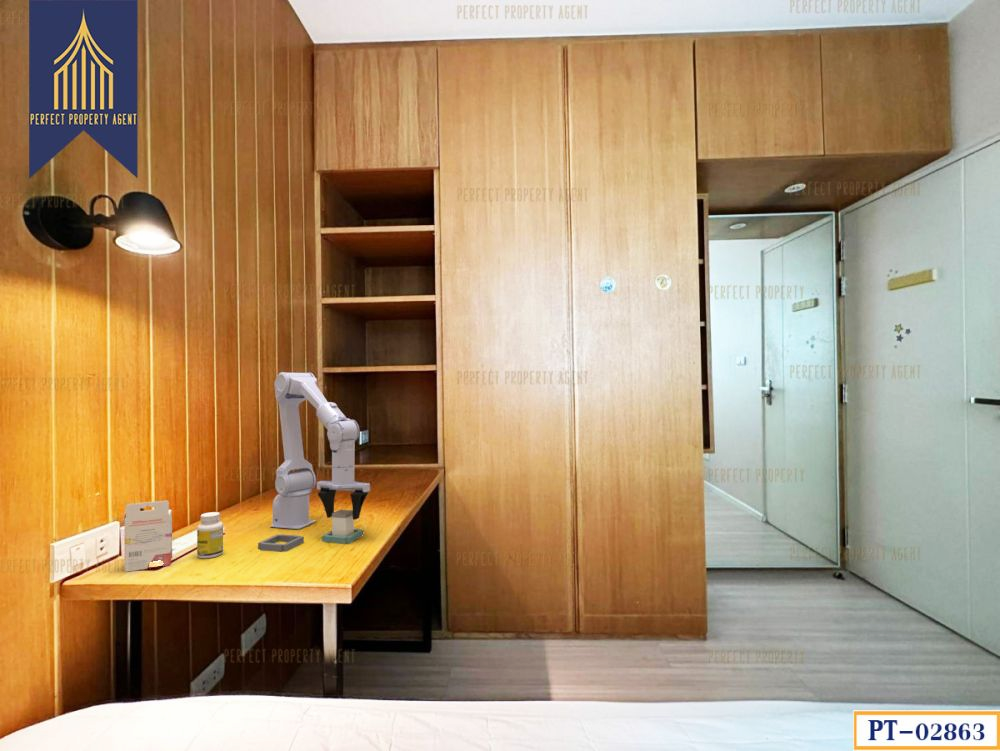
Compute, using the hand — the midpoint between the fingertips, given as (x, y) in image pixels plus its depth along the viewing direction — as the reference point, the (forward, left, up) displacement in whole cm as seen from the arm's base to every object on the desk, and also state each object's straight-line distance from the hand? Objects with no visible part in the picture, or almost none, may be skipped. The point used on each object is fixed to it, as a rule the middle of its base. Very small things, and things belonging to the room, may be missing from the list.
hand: (343, 517), depth 134 cm
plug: (0, 0, -5) cm, 5 cm away
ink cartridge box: (-32, -28, -6) cm, 43 cm away
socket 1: (-12, -9, -5) cm, 16 cm away
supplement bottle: (-24, -19, -6) cm, 31 cm away
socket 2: (0, 0, -5) cm, 5 cm away
